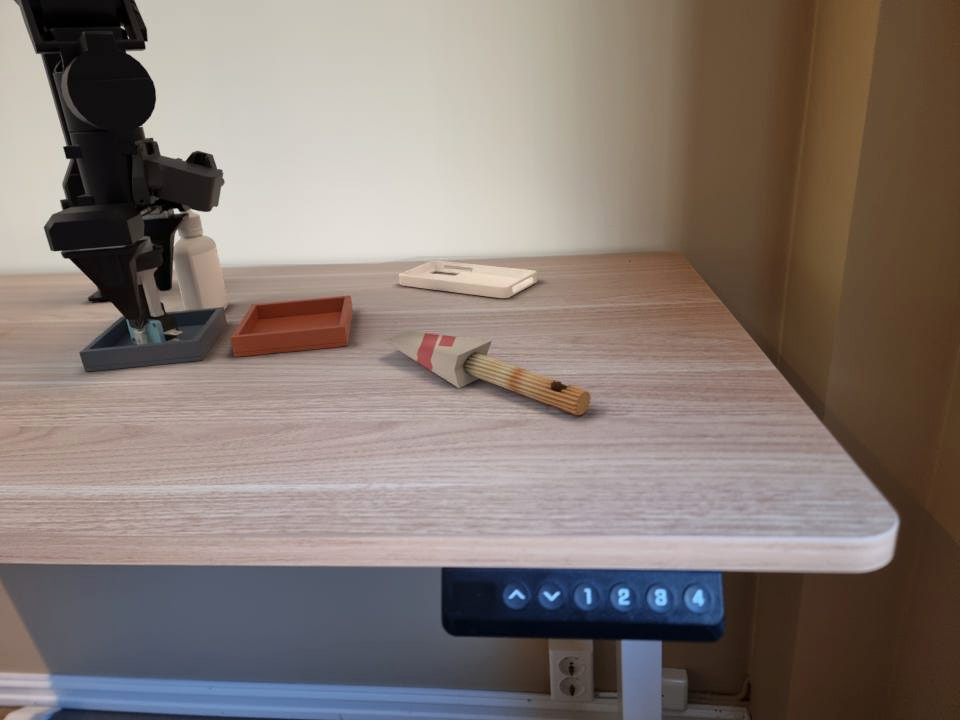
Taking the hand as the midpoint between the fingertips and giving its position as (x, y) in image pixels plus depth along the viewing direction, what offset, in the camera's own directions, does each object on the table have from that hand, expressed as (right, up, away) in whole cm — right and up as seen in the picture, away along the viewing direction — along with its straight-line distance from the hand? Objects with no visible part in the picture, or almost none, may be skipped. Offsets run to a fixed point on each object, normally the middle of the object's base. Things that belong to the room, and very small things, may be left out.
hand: (151, 303), depth 64 cm
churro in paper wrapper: (+31, -7, -10) cm, 33 cm away
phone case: (+29, +3, +16) cm, 34 cm away
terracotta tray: (+13, -3, +3) cm, 14 cm away
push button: (0, -4, +1) cm, 4 cm away
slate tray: (0, -4, +2) cm, 4 cm away
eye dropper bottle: (+1, 0, +11) cm, 11 cm away
